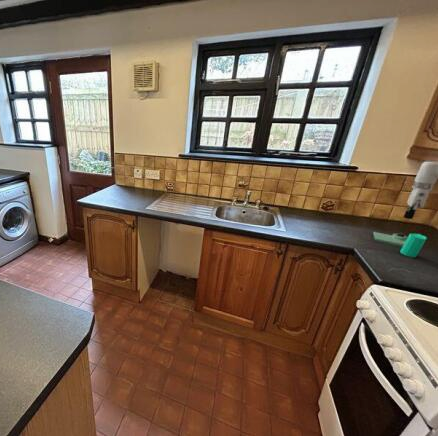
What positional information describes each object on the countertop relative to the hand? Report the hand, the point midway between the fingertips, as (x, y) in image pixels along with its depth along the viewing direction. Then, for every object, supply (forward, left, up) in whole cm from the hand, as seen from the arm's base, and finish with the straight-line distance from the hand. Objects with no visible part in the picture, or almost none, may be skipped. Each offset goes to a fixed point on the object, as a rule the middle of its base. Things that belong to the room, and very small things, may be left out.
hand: (407, 218), depth 134 cm
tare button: (0, 0, -11) cm, 11 cm away
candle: (-1, +19, -14) cm, 24 cm away
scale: (+4, +3, -14) cm, 15 cm away
